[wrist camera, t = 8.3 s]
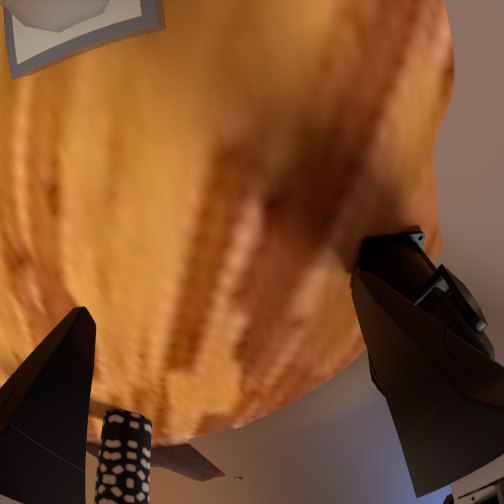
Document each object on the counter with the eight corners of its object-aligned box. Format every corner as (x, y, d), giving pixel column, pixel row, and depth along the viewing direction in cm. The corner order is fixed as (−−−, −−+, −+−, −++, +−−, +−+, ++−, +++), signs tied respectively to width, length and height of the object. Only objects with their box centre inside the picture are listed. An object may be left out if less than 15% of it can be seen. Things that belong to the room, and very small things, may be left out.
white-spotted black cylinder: (142, 432, 46) (139, 531, 30) (99, 419, 43) (89, 522, 27) (159, 420, 43) (157, 534, 27) (111, 405, 39) (99, 524, 23)
